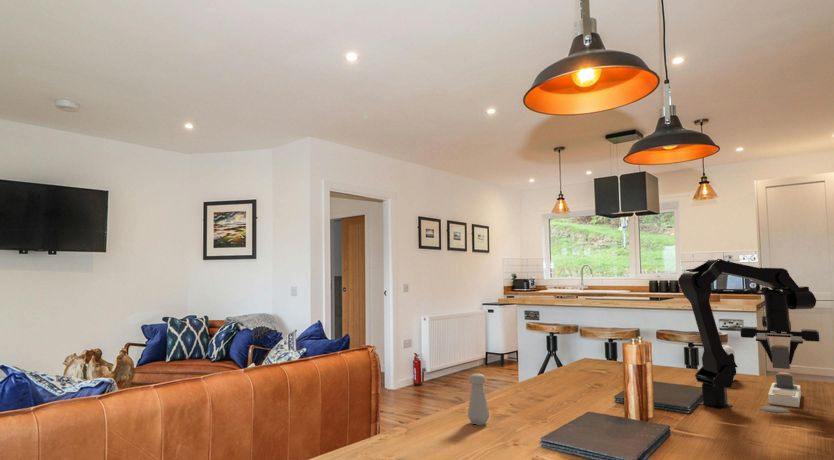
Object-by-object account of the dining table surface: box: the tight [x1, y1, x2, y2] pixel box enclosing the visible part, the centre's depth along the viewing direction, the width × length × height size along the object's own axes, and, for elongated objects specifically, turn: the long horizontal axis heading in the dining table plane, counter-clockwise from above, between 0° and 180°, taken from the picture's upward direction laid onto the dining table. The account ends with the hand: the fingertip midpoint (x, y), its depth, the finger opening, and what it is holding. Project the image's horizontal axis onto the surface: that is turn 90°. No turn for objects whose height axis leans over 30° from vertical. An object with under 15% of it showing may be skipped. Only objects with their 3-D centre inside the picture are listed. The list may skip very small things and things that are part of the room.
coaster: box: [758, 405, 791, 414], centre depth 138 cm, size 7×7×1 cm
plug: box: [770, 344, 791, 370], centre depth 146 cm, size 4×4×6 cm
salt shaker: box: [467, 373, 490, 426], centre depth 134 cm, size 6×6×13 cm
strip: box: [767, 371, 802, 408], centre depth 155 cm, size 33×7×7 cm, turn 141°
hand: (781, 363), depth 146 cm, fingers closed on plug, 4 cm apart
